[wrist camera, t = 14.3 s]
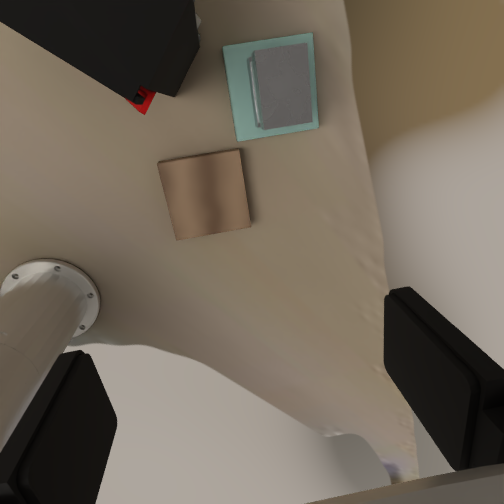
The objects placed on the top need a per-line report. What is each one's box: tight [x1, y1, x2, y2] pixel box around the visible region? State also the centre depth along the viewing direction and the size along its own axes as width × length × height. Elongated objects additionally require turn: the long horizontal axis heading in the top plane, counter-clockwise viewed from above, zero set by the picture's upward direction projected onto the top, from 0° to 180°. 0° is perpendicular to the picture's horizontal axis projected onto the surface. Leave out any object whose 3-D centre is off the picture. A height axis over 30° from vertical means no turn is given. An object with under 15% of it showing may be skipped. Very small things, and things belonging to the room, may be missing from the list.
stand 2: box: [222, 32, 319, 141], centre depth 40 cm, size 10×10×2 cm
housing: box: [247, 42, 313, 130], centre depth 36 cm, size 7×5×7 cm
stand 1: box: [157, 148, 251, 241], centre depth 44 cm, size 10×10×2 cm
